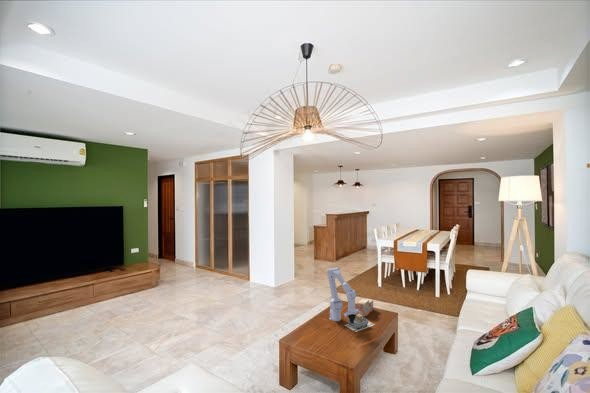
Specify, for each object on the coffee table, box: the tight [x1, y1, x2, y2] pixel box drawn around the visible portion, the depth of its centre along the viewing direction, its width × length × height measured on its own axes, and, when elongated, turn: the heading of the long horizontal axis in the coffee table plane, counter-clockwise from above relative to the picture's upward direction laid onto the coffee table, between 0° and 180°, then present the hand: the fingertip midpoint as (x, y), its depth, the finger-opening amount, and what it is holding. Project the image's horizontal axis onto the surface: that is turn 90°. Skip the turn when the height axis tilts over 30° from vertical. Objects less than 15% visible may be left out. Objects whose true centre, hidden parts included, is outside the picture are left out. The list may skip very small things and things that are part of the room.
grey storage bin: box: [347, 317, 369, 329], centre depth 229 cm, size 11×12×5 cm
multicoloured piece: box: [356, 298, 374, 318], centre depth 255 cm, size 21×6×12 cm, turn 143°
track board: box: [344, 320, 376, 333], centre depth 230 cm, size 13×22×1 cm, turn 122°
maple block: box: [356, 313, 364, 323], centre depth 230 cm, size 4×4×5 cm
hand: (351, 323), depth 225 cm, fingers closed
